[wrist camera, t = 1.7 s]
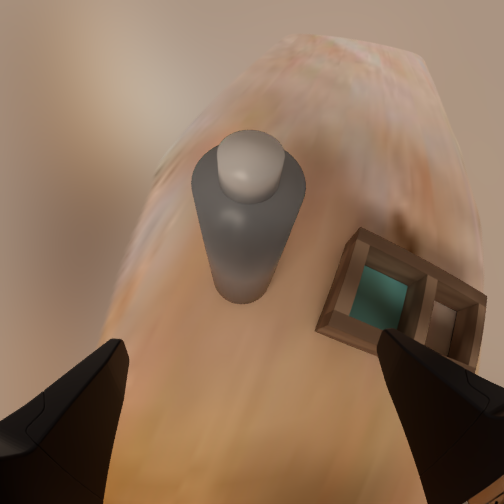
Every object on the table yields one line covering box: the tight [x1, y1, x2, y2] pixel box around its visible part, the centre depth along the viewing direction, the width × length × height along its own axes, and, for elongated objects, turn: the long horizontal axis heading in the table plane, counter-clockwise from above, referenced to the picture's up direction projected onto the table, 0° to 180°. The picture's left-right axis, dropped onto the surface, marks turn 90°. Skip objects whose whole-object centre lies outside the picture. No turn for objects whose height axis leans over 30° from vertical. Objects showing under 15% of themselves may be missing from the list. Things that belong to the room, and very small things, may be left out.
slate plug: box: [191, 130, 306, 304], centre depth 16 cm, size 5×5×15 cm
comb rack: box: [315, 227, 487, 374], centre depth 21 cm, size 8×16×4 cm, turn 65°
